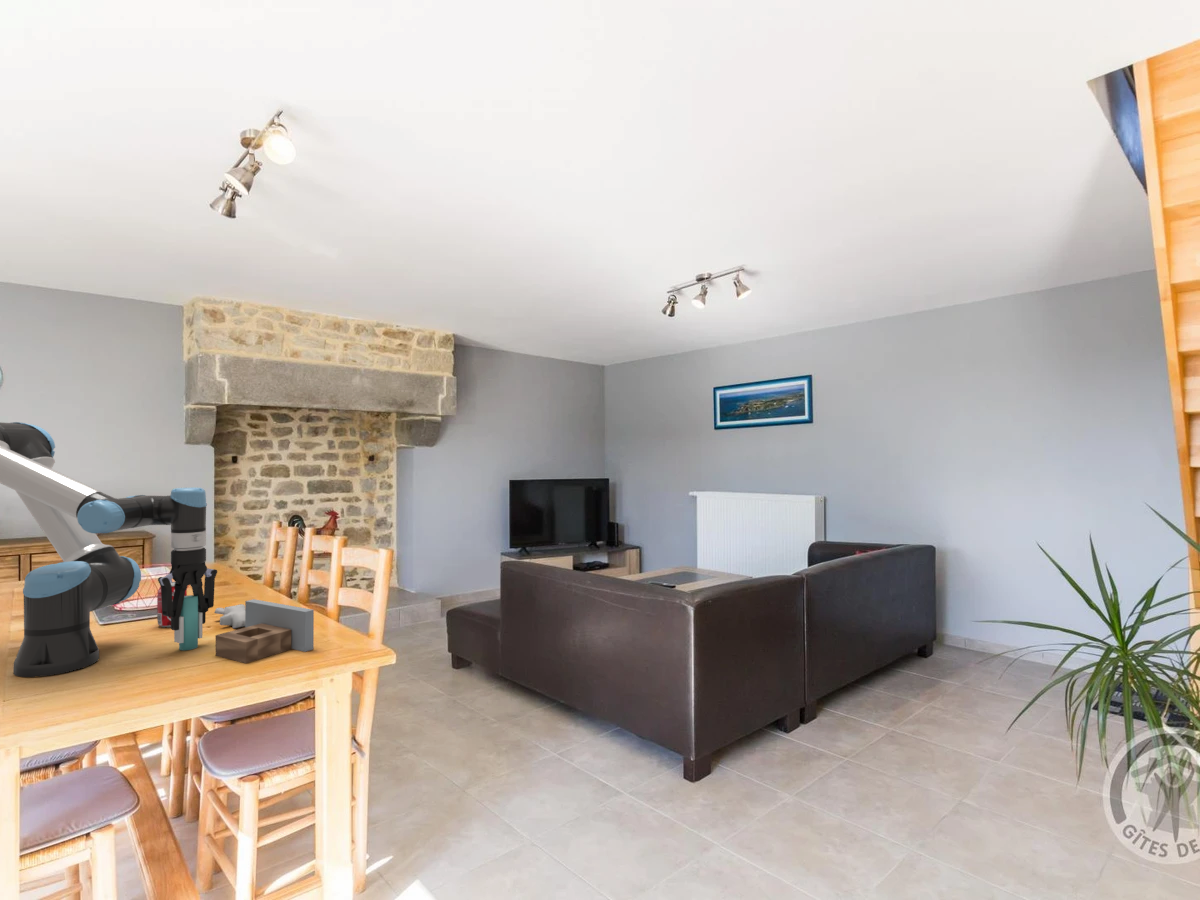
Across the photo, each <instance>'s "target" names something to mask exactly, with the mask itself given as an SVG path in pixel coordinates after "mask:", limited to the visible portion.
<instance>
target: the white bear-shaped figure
mask: <svg viewBox="0 0 1200 900" xmlns="http://www.w3.org/2000/svg"><path fill="white" fill-rule="evenodd" d="M213 613H214V614H218V615H222V616H220V617H219V626H232V629H234V630H235V629H240V628H245V604H237V605H231V606H230V605H229V606H226V607H224V608H223V607H217V608H215V610H214V612H213Z"/></svg>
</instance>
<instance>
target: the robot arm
mask: <svg viewBox="0 0 1200 900" xmlns="http://www.w3.org/2000/svg"><path fill="white" fill-rule="evenodd" d="M55 448H56V444H55V440H54V439H53V437H52V435H51V434H50V433H49V432H48V431H47V430H46V429H44V428H42V427H41V426H38V425H36V424H32V423H26V422H17V421H15V422H3V421H1V422H0V484H1V485H2V486H5V487H7V488H9V489H12V490H14V491H15V492H16V494H17V495H18V497H19V498H20V499H21V501H22V502H23V504H24V505H25V507H26V508H27V510H28V511H29V514H31V515H32V517H33V519H34V520H35V522H36V523H37V525H38V527H40V529H41V530H42V532H43V533H44V535H45V536H46V538H47V539H48V541H49V543H50V544H51V546H52V547H53V549H55V551H56V553H57V554H58V555H59V557H60V559H62V562H57V563H51V564H48V565H44V566H39V567H37V568H35V569H33V570H30V571H29V572H28V573H27V574H26V575H25V578H24V584H23V585H24V587H23V588H22V594H23V640H22V642H21V644H20V647H19V650H18V651H17V654H16V657H15V659H14V662H13V664H12V666H13V672H12V673H13V675H14V676H15V677H16V676H17V677H20V678H35V676H39V677H47V675H48V676H55V675H60V673H61V674H65V672H66V673H70V672H73V670H74V671H77V670H76V669H78V670H81V669H84V668H87V667H89V666H88V665H90V666H92V665H94V664H96V663H97V662H98V661H99V660H100V649H99V647H98V645H97V642H96V639H95V637H94V635H93V633H92V630H91V625H90V624H91V622H90V618H91V617H90V616H91V612H93V611H96V610H100V609H102V608H106V607H110V606H114V605H117V604H120V603H122V602H124V601H126V600H127V599H128V600H129V598H131V597H132V596H133V595H134V594H136V592H138V591H137V590H138V589H139V587H140V583H141V581H142V573H141V568H140V566H139V564H138V563H137V562H136V560H134V559H133V558H131V557H127V556H123V555H120V554H119V553H118V552H117V550H116V548H115V547H114V546H113V545H111V544H104V543H102V541H101V539H100V538H99V537H98V535H97V534H109V533H113V532H118V531H122V530H128V529H135V528H141V527H147V526H170V548H171V549H172V550H171V551H170V565H171V569H170V570H169V573H168V574H167V575H164V576H160V577H158V578H157V581H158V583H159V586H160V585H161V599H162V615H164V616H168V617H171V627H170V629H171V630H172V631H173V632H174V633H173V635H174V636H173V638H174V643H178V644H179V643H184V617H182V616H180V615H181V610H182V605H183V600H184V595H185V590H186V589H188V586H190V587H191V590H192V595H196V596H198V640H199V639H203V624H205V623H206V613H208V612H209V609H212V608H213V607H214V605H215V604H214V603H215V602H214V601H215V583H216V582H215V581H216V580H215V579H216V577H217V575H218V570H217V569H215V568H214V569H212V568H208V567H207V565H206V561H207V548H206V547H205V546H207V526H206V525H207V524H206V523H207V519H206V518H207V505H208V504H207V493H206V490H205V488H204V487H175V488H173V489H171V491H170V495H145V494H140V495H139V494H138V495H137V494H136V495H129V496H126V497H123V498H116V497H113V496H110V495H108V494H106V493H104V492H101V491H100V490H98V489H95V488H94V487H92V486H89V485H87V484H85V483H83V482H80V481H79V480H76V479H74V478H72V477H70V476H68V475H66V474H63V473H61V472H60V471H58V470H55V469H53V467H54V465H55V463H56V461H55V460H56V459H55V458H54V456H55V452H56V451H55ZM203 577H204V584H203V579H202V578H203ZM172 579H173V580H174V581H173V580H172ZM172 582H175V586H174V588H175V592H174V597H173V602H172V586H171V583H172ZM203 585H204V586H203ZM98 659H99V660H98ZM96 661H97V662H96ZM95 662H96V663H95ZM93 663H94V664H93ZM91 664H92V665H91ZM86 666H87V667H86ZM83 667H84V668H83ZM80 668H81V669H80ZM69 671H70V672H69ZM54 674H55V675H54Z"/></svg>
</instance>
